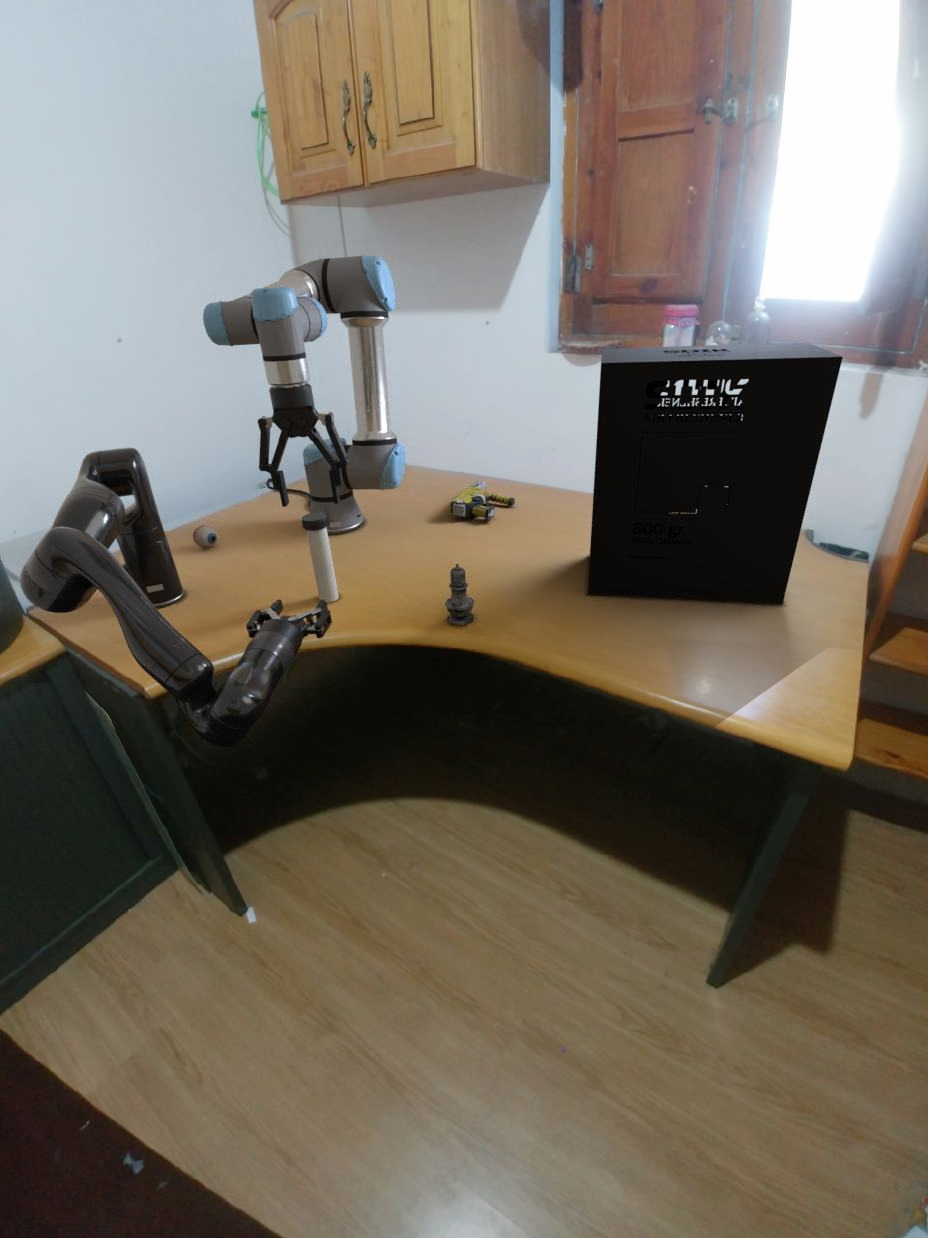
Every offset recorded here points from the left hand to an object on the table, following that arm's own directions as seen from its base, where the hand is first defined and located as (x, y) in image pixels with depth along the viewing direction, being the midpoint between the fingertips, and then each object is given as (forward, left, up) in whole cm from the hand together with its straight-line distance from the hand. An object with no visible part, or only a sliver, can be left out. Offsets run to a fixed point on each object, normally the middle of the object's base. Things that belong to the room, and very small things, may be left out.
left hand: (301, 603), depth 115 cm
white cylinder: (0, +15, -7) cm, 16 cm away
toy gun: (+32, +70, -7) cm, 77 cm away
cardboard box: (+76, +23, -7) cm, 79 cm away
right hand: (0, +14, +15) cm, 21 cm away
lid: (0, +14, +12) cm, 19 cm away
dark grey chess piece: (+30, +5, -7) cm, 31 cm away
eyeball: (-41, +43, -7) cm, 60 cm away
